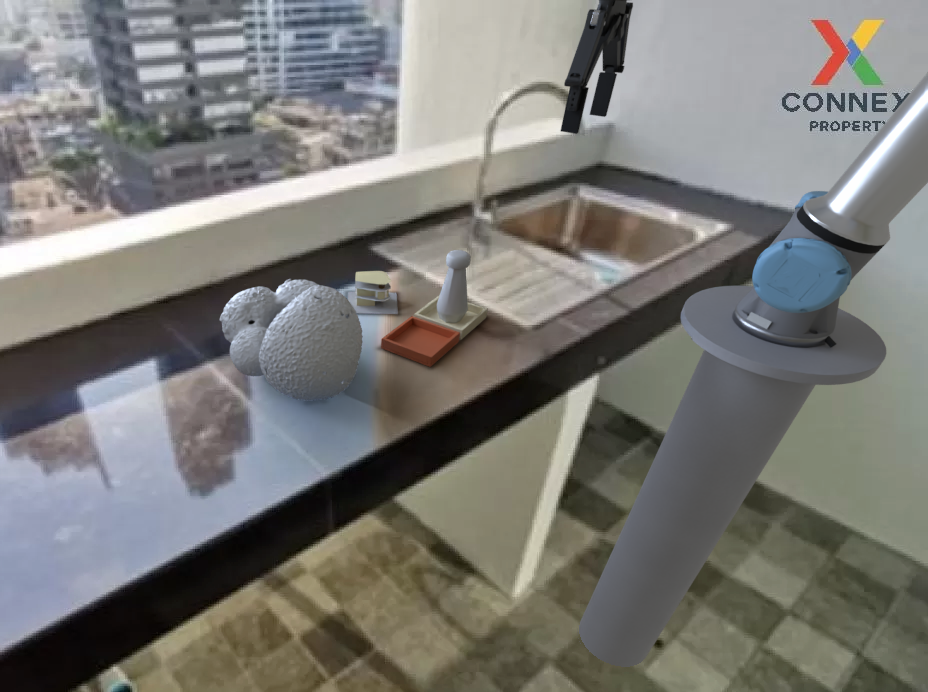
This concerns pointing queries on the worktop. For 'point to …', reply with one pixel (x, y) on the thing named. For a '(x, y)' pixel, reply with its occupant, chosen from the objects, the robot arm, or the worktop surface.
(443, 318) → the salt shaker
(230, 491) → the worktop surface
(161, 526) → the worktop surface
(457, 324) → the ivory tray
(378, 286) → the stacked layers on plate
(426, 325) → the terracotta tray
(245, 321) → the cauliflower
